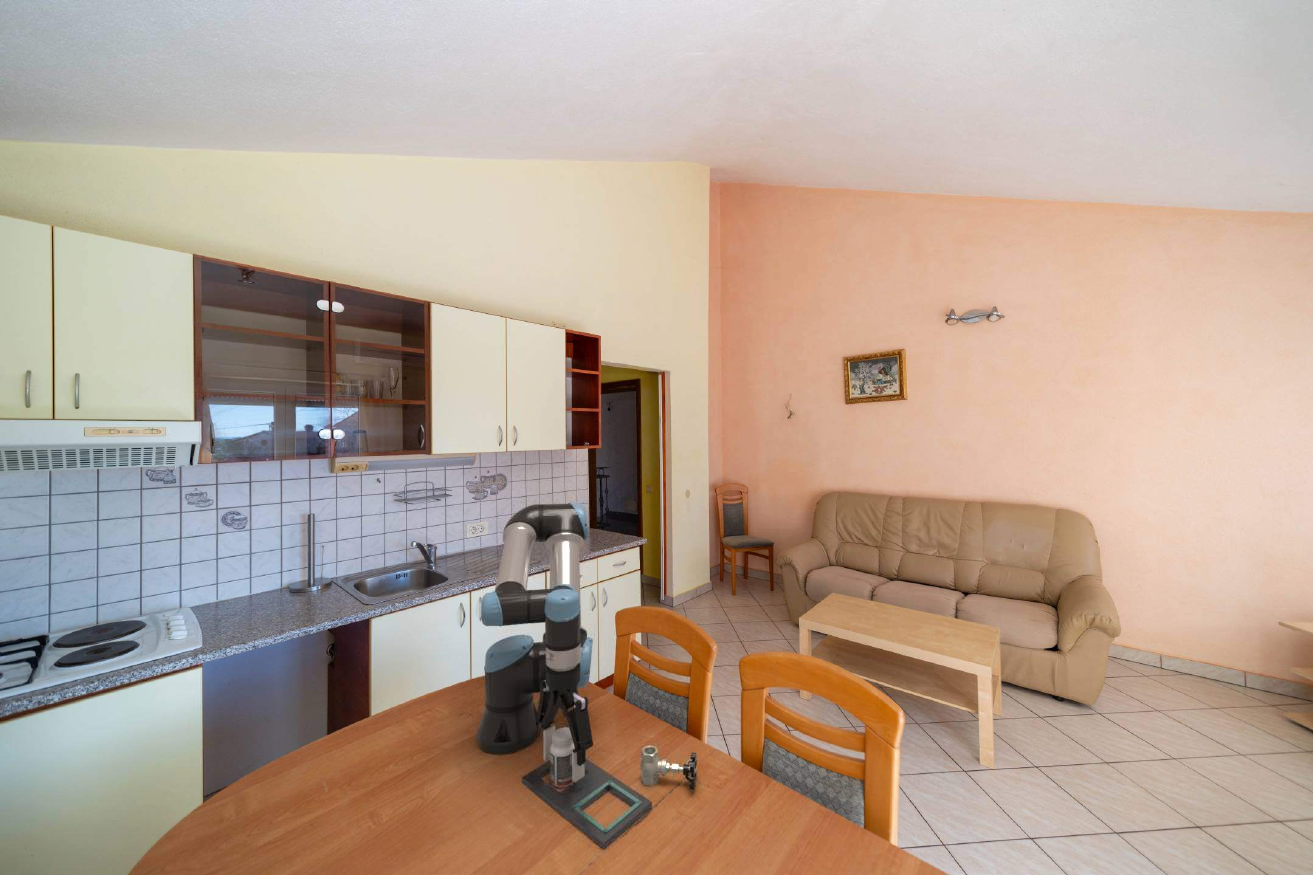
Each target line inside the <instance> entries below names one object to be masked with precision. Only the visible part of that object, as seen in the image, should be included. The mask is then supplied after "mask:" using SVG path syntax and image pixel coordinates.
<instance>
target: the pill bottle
mask: <svg viewBox="0 0 1313 875" xmlns="http://www.w3.org/2000/svg"><path fill="white" fill-rule="evenodd" d="M552 742H553V743H552V744H551V747H550V759H549V760H550V773H549V776H550V777H549V779H550V780H549V781H550V783H551V786H554V788H559V789H561V788H562V789H563V788H568V787H569V786H571V785H572V784H574V783H575V782H573V781H572V749H573V748H575V747H574V743H573V740H572V736H571V732H570V729H569V727H566V726H565V727H559V728H557V729H555V731H554V732H553V734H552Z"/></svg>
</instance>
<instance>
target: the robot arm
mask: <svg viewBox="0 0 1313 875" xmlns="http://www.w3.org/2000/svg"><path fill="white" fill-rule="evenodd" d="M587 517H588V516H587V512H586V509H585V507H584V505H583V504H581V503H574V502H573V503H572V502H568V503H545V504H542V503H541V504H540V503H537V504H536V503H535V504H531V505H528V506H525V507H523V508H522V509H519V511H517V512H515V513H514V514H513V515H512V517H510V518H509V520H508V521H507V523H506V524H505V526H504V529H503V532H502V542H503V545H504V546H503V550H502V553H501V560H500V563H499V569H498V573H497V578H496V583H495V589H494V591H491V592H486V593H484V595H482V599H481V608H480V617H481V623H482V624H483V626H485V627H504V626H505V627H506V626H516V625H527V624H540V623H542V624H543V623H544V624H545V626H544V627H545V632H544V633H543V634H542V641H539V642H537V641H536V642H535V641H534V638H533V637H532V636H531V635H529V634H527V635H526V634H517V635H512V636H507V637H504V638H502V639H499V640H498V641H496V642H494V643H493V644H492V645H491V646H489V648H488V649H487V650H486V652H485V658H484V659H485V661H484V666H483V668H484V710H483V713H482V717H481V720H480V723H479V726H478V730H477V745H478V747H479V748H480V749H481V750H482V751H484V752H486V753H488V754H493V755H505V754H512V753H517V752H519V751H521V750H524V749H526V748H528V747H530V746H531V745H533V744H534V743H535V742H536V741H537V740H538V738H539V737H540V734H541V730H542V741H543V746H542V747H543V748H542V749H543V761H544V762H548V761H549V760H550V747H551V744H552V743H553V742H552V734H553V732H554V731H555V730H556V726H555V723H556V721H555V720H556V716H557V714H558V711H559V709H560V710H561V711H562V715H563V717H564V718H566V722H567V726H568V728H569V729H570V732H571V736H572V740H573V743H574V747H575V748H573V749H572V781H573V782H574V783H575V782H577V781H578V780H580V779H581V778H582V777H584V776H585V767H584V763H585V762H586V759H587V756H586V755H587V754H586V752H587V750H589V749H590V748H592V747H594V741H593V740H594V739H593V735H592V727H591V721H590V715H589V710H588V709H589V706H588V705H589V699H588V697H587V696H583V697H581V696H580V695H579V691H578V689H581V688H585V687H586V686H588V684H589V683H590V676H591V666H592V665H591V664H592V655H593V642H594V639H593V637H592V638H591V637H590V636H588V631H587V629H586V628H584V627H583V626H582V614H581V613H582V610H581V608H582V606H581V604H582V603H581V569H580V567H581V566H580V565H581V564H580V563H581V562H580V549H581V548H582V547H583V546H584V544H585V541H588V538H589V526H588V518H587ZM535 543H544V544H545V547H546V549H548V551H550V553H549V556H550V557H549V588H544V589H543V588H542V589H541V588H540V589H528V581H529V572H530V565H531V564H530V563H531V556H532V555H531V554H532V547H533V545H534V544H535ZM537 693H539V699H538V705H537V706H536V703H535V701H534V694H537Z"/></svg>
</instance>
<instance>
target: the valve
mask: <svg viewBox="0 0 1313 875" xmlns="http://www.w3.org/2000/svg"><path fill="white" fill-rule="evenodd" d="M659 753H660V752H659V750H658V747H657V746H656V745H645V746H643V747H642V748H641V754H640V756H641V761H640V765H639V766H640V771H641V782H642V783H643V786H647V787H649V786H650V787H654V786H655V785H656V784H658V782H660V778H659V776H660V775H661V776H667V774H669V773H671V774H675V775H676V774H679V773H682V775H683V776H685V779H686V780H687V781H688V783H689V784H690V785H689V790H693V791H695V789H696V786H697V781H696V778H697V777H698V776H697V774H698V771H697V765H698V759H697V756H698V755H697V752H691V754H690V758H689V759H687V760H686V762H685V763H683V766H680V763H679V764H678V763H672V764H671V763H670V762H669V761H668V759H667V758H662V759H660V758H659V757H660V755H659Z"/></svg>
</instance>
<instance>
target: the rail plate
mask: <svg viewBox="0 0 1313 875" xmlns="http://www.w3.org/2000/svg"><path fill="white" fill-rule="evenodd" d="M584 767H585V776H583V777H582V778H580V779H579V780H577V781H576V782H574V783H573V784H571V785H570V786H568V787H565V789H563V790H562V791H558V790H557V789H556V788H555V787H553V785H552V784H549V783H548V782H547V781H545V779H543V778H544V777H546V776H548V775H550V759H549V760H547V761H545V763H543V764H542V765H540V766H538V767H537V768H534V769H533V770H531V771H530V772H528V773H527V774H525V775H523V776H521V784H523V785H524V786H525V787H526V788H527V789H528V790H530V791H532V792H533V793H534V794H535V795H536V796H538V798H540V799H541V800H543V801H544V802H545V803H546V804H547V805H549V806H550V807H551V808H552V809H554V810H555V812H557V813H558V814H560V815H561V816H562V817H563V818H564V819H565V820H567V821H568V822H569V823H571V824H572V826H574V827H575V828H576V829H577V830H579V831H581V833H583V834H584V835H585V836H586V837H588V839H590V840H592V842H593V843H595V844H596V845H597V846H599V847H600V848H601V849H603V850H605V849H607V847H609V846H610V845H611V844H612V843H613V842H615V840H617V839H618V838H619V837H620V836H621V835H623V834H624V833H625V832H626V831H628V829H630V828H631V827H632V826H633V825H634V824H635V823H636V822H638V821H639V820H640V819H641V818H642V817H644V815H645V814H647V813H648V812H649V811H650V810H651V809H652V808H653V801H652V800H650V799H649V798H647V797H646V796H643V795H642V794H640V792H637V791H636V790H635V789H633V788H631V787H630V786H629V785H627V784H626V783H624V782H623V781H621V780H619V779H618V778H617V777H615V776H614V775H612V774H610V773H609V772H607V771H606V770H604V769H602V768H601V767H599V766H598V765H597V764H595V763H594V762H592V761H590V760H589V759H588V758H586V762H585V763H584ZM608 792H609V793H610V794H612V795H613V796H615V797H616V798H618V799H619V800H621V801H622V802H624V803H625V804H627V805H628V806H629V808H628V809H627V810H626V811H624V813H622V814H621V815H620V816H618V817H617V818H616V819H615V820H614V821H613V822H611V823H610V824H609V825H608V826H607V827H605V826H603V824H601V823H600V822H599V821H597V820H596V819H595V818H593V816H591V815H590V814H588V813H587V812H586V811H584V810H586V808H588V807H589V806H591V805H593V803H595V802H596V801H597V800H598V799H600V798H601V797H603V796H604V795H605V794H607V793H608Z"/></svg>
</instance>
